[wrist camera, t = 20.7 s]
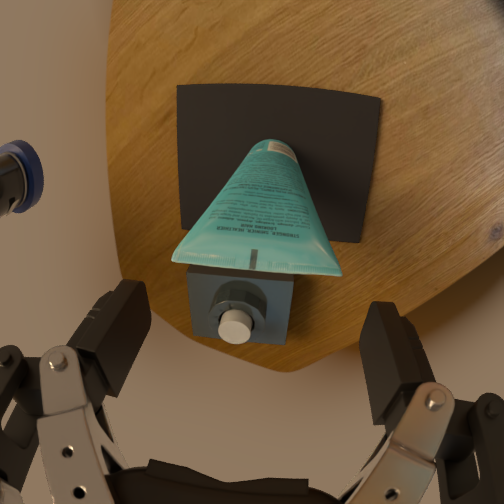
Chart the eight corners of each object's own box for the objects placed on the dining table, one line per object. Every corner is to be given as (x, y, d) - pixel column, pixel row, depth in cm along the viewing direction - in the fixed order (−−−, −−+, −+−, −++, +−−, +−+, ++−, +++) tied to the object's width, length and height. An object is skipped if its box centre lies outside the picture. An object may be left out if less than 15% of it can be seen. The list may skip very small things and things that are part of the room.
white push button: (221, 330, 36) (218, 342, 34) (220, 307, 34) (217, 319, 32) (252, 333, 35) (250, 345, 33) (252, 310, 33) (251, 322, 32)
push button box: (198, 320, 41) (189, 346, 37) (193, 258, 36) (180, 282, 32) (285, 329, 40) (284, 356, 36) (293, 267, 36) (294, 292, 31)
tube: (237, 185, 31) (180, 306, 14) (234, 139, 29) (161, 212, 12) (310, 185, 30) (337, 310, 14) (310, 138, 28) (349, 211, 11)
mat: (182, 227, 35) (181, 229, 34) (178, 85, 27) (176, 85, 26) (358, 241, 33) (359, 243, 33) (379, 97, 25) (380, 97, 25)
